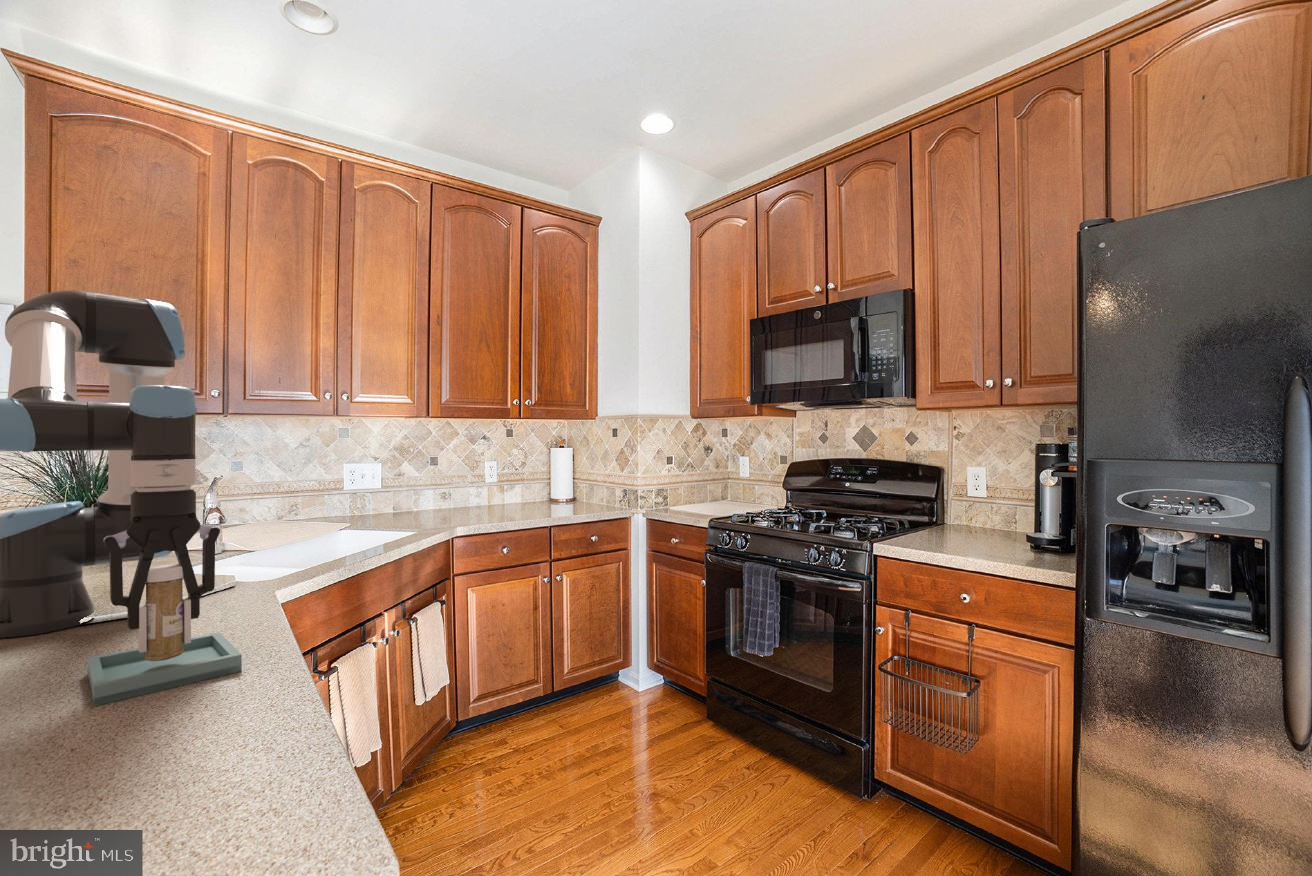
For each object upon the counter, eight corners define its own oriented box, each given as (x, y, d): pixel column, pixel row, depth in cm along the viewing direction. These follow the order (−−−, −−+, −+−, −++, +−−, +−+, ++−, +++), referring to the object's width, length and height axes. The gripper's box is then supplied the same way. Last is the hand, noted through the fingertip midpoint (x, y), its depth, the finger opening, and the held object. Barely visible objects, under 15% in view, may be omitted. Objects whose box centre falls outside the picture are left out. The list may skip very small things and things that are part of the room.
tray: (87, 675, 88) (87, 658, 88) (219, 647, 99) (219, 632, 99) (93, 706, 77) (93, 687, 77) (241, 671, 88) (241, 654, 88)
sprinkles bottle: (182, 658, 87) (182, 567, 87) (141, 664, 85) (141, 570, 85) (185, 649, 91) (185, 562, 91) (147, 655, 89) (147, 565, 89)
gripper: (84, 494, 79) (84, 668, 79) (240, 486, 92) (240, 636, 92) (81, 491, 85) (82, 655, 84) (229, 484, 97) (230, 627, 97)
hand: (164, 645), depth 88 cm, fingers closed on sprinkles bottle, 4 cm apart
